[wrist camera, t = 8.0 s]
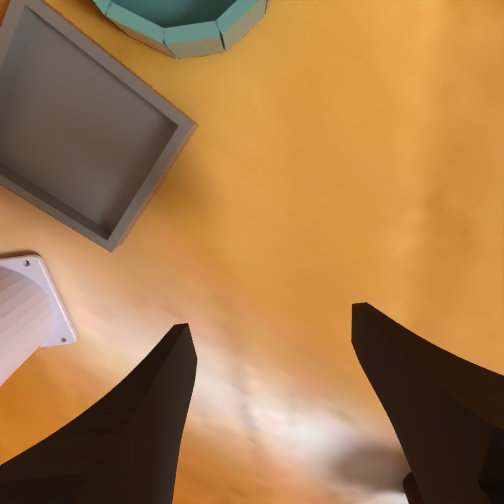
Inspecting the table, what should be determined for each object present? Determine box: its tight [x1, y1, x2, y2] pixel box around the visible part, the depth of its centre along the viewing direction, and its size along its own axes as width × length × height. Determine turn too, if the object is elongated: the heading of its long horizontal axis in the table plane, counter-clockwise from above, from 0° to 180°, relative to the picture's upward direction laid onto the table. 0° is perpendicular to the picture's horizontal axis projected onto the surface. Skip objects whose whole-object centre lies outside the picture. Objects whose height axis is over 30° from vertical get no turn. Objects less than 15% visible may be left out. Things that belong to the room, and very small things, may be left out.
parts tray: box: [0, 0, 198, 252], centre depth 17 cm, size 10×10×2 cm
